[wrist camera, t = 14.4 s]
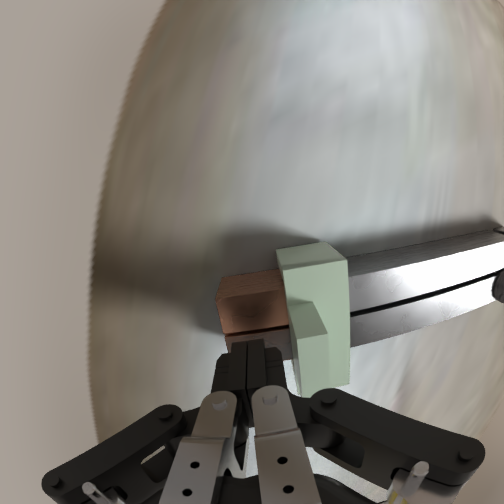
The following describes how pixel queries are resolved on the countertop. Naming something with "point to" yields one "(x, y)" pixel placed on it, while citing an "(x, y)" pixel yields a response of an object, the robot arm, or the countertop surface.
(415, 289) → the tongs fixed
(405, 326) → the tong arm
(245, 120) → the countertop surface
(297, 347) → the collar
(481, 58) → the countertop surface
